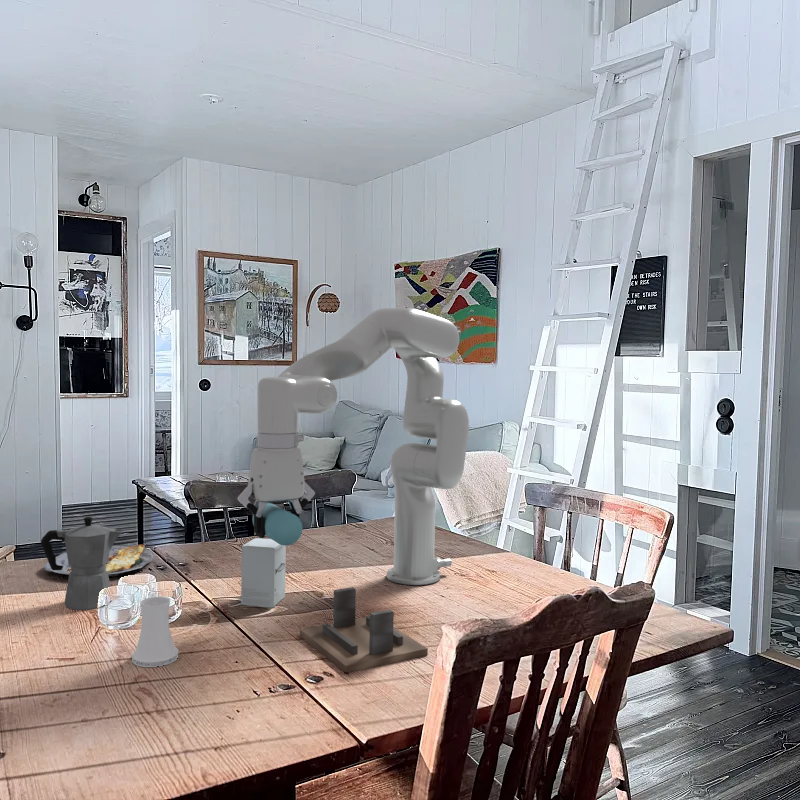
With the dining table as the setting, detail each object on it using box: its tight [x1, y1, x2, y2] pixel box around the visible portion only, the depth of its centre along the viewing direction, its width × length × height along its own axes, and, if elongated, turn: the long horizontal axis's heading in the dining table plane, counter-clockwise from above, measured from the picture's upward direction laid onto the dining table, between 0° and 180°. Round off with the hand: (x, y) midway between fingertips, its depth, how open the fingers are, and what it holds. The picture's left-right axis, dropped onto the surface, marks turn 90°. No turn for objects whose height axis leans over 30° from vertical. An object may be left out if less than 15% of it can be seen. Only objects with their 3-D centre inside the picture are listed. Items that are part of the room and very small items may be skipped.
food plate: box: [43, 543, 157, 577], centre depth 186 cm, size 25×23×4 cm
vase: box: [131, 596, 179, 668], centre depth 132 cm, size 8×8×10 cm
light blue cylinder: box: [251, 502, 303, 547], centre depth 149 cm, size 11×6×6 cm, turn 30°
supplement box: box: [240, 537, 287, 609], centre depth 162 cm, size 7×7×13 cm
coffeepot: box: [40, 516, 123, 611], centre depth 158 cm, size 15×9×18 cm, turn 110°
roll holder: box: [299, 586, 429, 673], centre depth 139 cm, size 16×19×8 cm
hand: (276, 533), depth 149 cm, fingers closed on light blue cylinder, 5 cm apart
